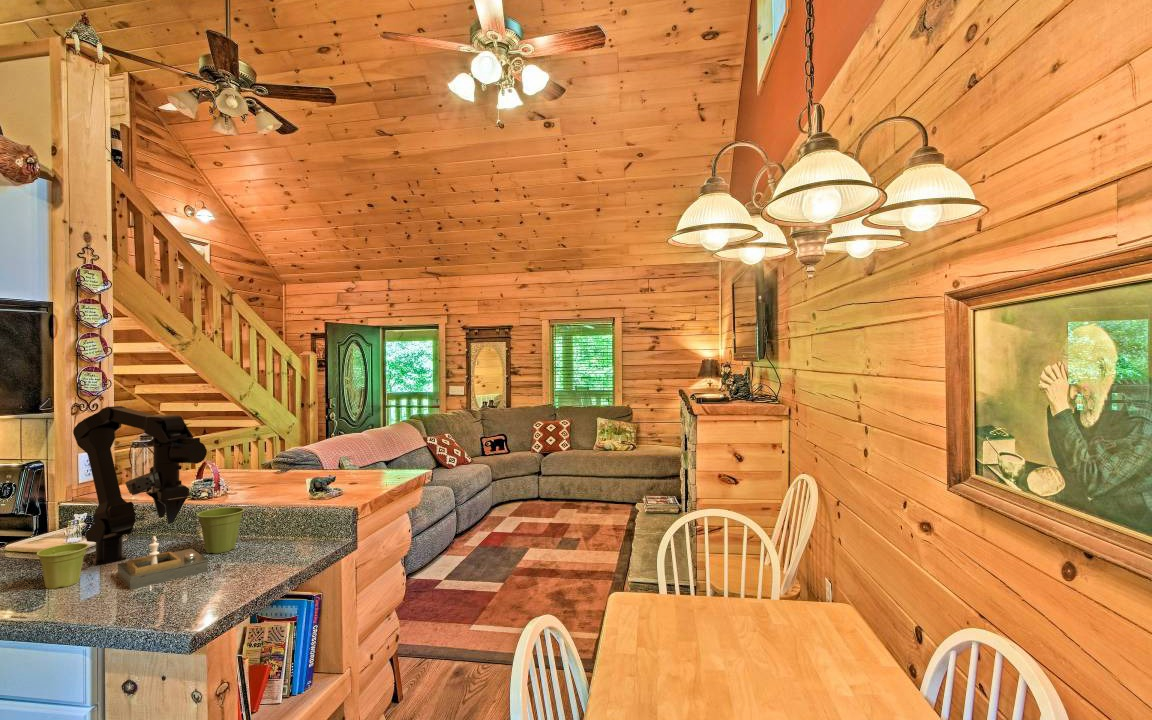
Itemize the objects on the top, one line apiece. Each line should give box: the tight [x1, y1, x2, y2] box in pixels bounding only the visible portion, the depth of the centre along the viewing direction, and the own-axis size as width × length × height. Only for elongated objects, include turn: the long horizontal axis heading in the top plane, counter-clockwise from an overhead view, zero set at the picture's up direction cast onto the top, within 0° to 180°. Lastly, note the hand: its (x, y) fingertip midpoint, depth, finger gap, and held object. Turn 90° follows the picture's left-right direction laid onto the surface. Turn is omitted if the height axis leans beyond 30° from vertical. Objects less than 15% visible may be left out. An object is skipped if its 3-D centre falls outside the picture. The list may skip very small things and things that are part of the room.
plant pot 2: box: [196, 506, 246, 554], centre depth 161 cm, size 12×12×11 cm
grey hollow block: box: [117, 548, 209, 590], centre depth 142 cm, size 14×16×5 cm
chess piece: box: [148, 535, 160, 565], centre depth 141 cm, size 5×5×10 cm
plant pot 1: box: [36, 542, 90, 590], centre depth 135 cm, size 9×9×9 cm
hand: (165, 520), depth 149 cm, fingers open, 9 cm apart
